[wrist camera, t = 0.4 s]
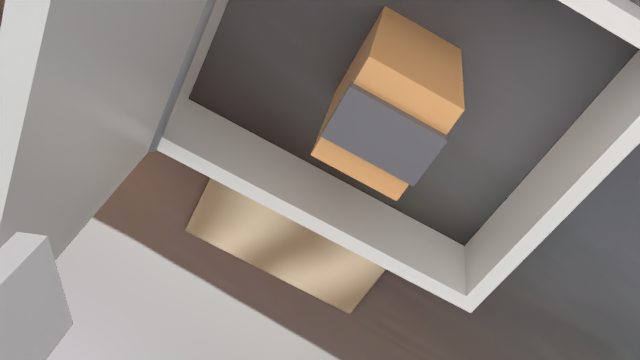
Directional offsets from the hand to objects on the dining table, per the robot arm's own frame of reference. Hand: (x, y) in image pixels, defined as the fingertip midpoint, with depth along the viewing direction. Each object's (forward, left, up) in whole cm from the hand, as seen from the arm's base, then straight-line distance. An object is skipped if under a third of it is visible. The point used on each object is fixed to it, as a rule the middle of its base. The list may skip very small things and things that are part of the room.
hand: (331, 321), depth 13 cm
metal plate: (+2, -18, -24) cm, 30 cm away
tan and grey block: (+2, -3, -24) cm, 24 cm away
